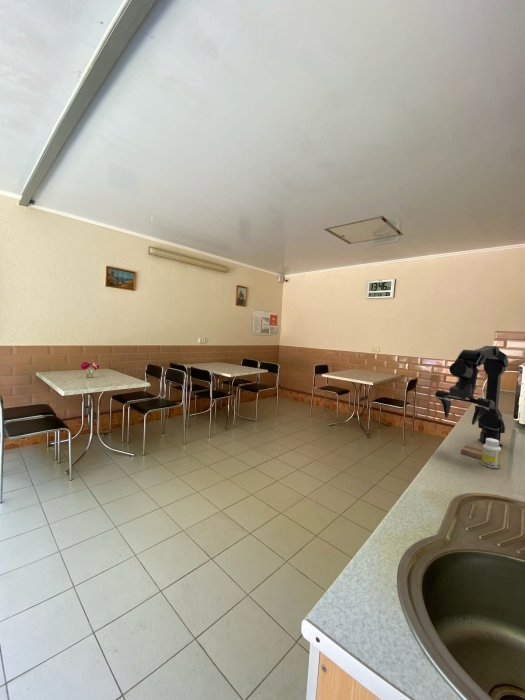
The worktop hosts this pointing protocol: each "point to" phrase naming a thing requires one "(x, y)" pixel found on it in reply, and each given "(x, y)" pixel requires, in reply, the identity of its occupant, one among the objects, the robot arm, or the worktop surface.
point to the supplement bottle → (491, 453)
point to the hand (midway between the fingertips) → (459, 421)
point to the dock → (472, 451)
